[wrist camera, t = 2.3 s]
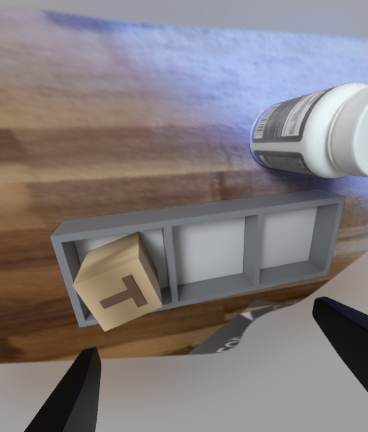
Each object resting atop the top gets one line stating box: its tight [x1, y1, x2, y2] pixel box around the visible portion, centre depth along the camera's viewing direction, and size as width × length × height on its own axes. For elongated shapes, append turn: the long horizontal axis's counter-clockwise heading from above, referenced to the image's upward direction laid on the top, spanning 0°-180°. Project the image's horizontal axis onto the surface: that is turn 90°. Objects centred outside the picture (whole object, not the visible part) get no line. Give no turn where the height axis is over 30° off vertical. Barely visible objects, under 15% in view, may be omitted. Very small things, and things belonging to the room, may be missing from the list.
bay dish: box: [50, 189, 345, 327], centre depth 17 cm, size 22×8×3 cm, turn 93°
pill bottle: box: [250, 83, 368, 178], centre depth 13 cm, size 5×5×8 cm
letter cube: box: [72, 231, 163, 331], centre depth 14 cm, size 4×4×4 cm
